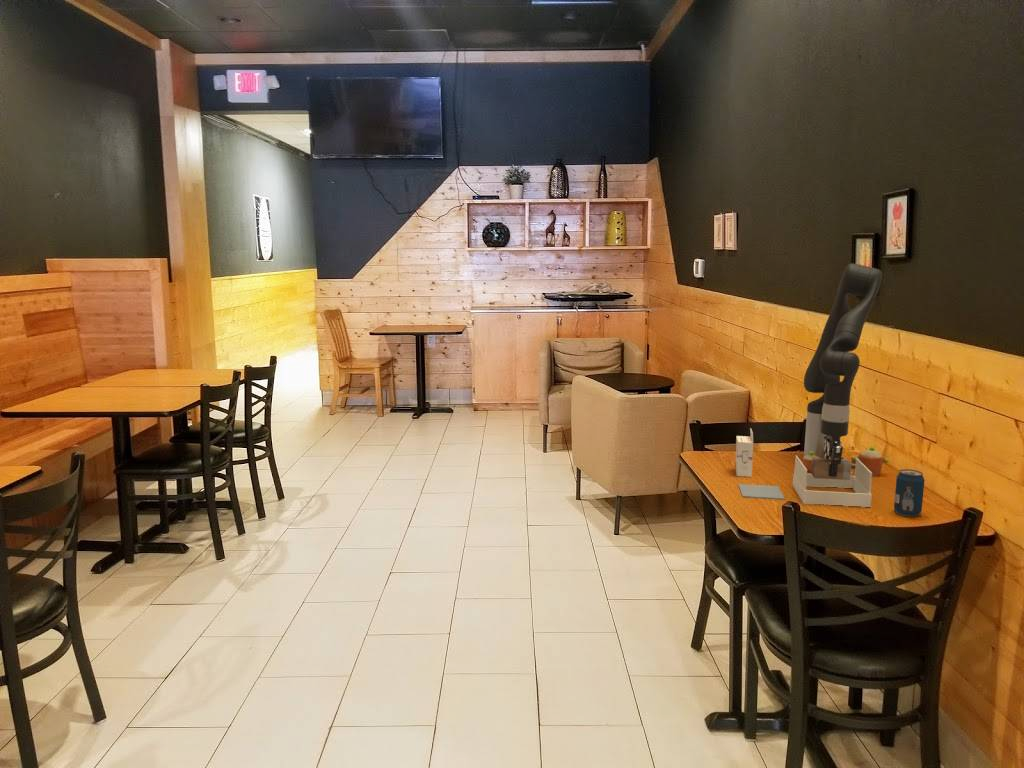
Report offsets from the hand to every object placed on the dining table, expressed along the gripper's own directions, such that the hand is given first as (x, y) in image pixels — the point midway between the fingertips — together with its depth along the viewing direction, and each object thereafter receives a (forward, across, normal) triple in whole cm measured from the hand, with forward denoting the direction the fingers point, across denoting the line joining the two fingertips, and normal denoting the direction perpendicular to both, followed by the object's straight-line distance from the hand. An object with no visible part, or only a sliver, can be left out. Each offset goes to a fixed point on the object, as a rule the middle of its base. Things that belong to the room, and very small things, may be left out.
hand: (830, 473), depth 225 cm
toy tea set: (+8, +28, -10) cm, 31 cm away
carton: (+7, 0, 0) cm, 7 cm away
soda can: (+7, -12, -18) cm, 23 cm away
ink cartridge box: (+7, +20, +23) cm, 31 cm away
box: (+1, 0, 0) cm, 1 cm away
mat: (+7, 0, +20) cm, 21 cm away
